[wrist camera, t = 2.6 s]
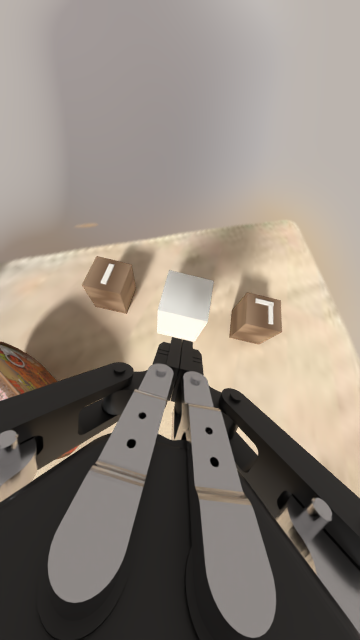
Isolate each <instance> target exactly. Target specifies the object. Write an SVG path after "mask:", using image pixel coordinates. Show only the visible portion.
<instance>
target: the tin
mask: <svg viewBox="0 0 360 640" xmlns="http://www.w3.org/2000/svg"><path fill="white" fill-rule="evenodd" d="M55 382H57V381H56V380H55V379H54V377H53V376H52V375H51V374H50V373H49V372H48V371H47V370H46V369H45V368H44V367H43V366H42V365H41V364H40V363H39V362H37V361H36V360H35V359H34V358H32V357H31V356H29V355H28V354H27V353H25V352H23V351H21V350H19V349H18V348H16V347H14V346H11V345H9V344H7V343H4V342H0V401H1V400H4V399H7V398H10V397H13V396H16V395H19V394H22V393H25V392H28V391H31V390H34V389H37V388H40V387H43V386H46V385H49V384H52V383H55ZM78 446H79V445H78ZM78 446H76V447H75V448H73V449H71V450H70V451H68V452H67V453H65V454H63V455H62V456H60V457H58V458H57V459H59V458H62V457H65V456H68V455H69V454H71V453H72V452H73V451H74V450H75V449H76V448H77V447H78Z"/></svg>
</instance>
